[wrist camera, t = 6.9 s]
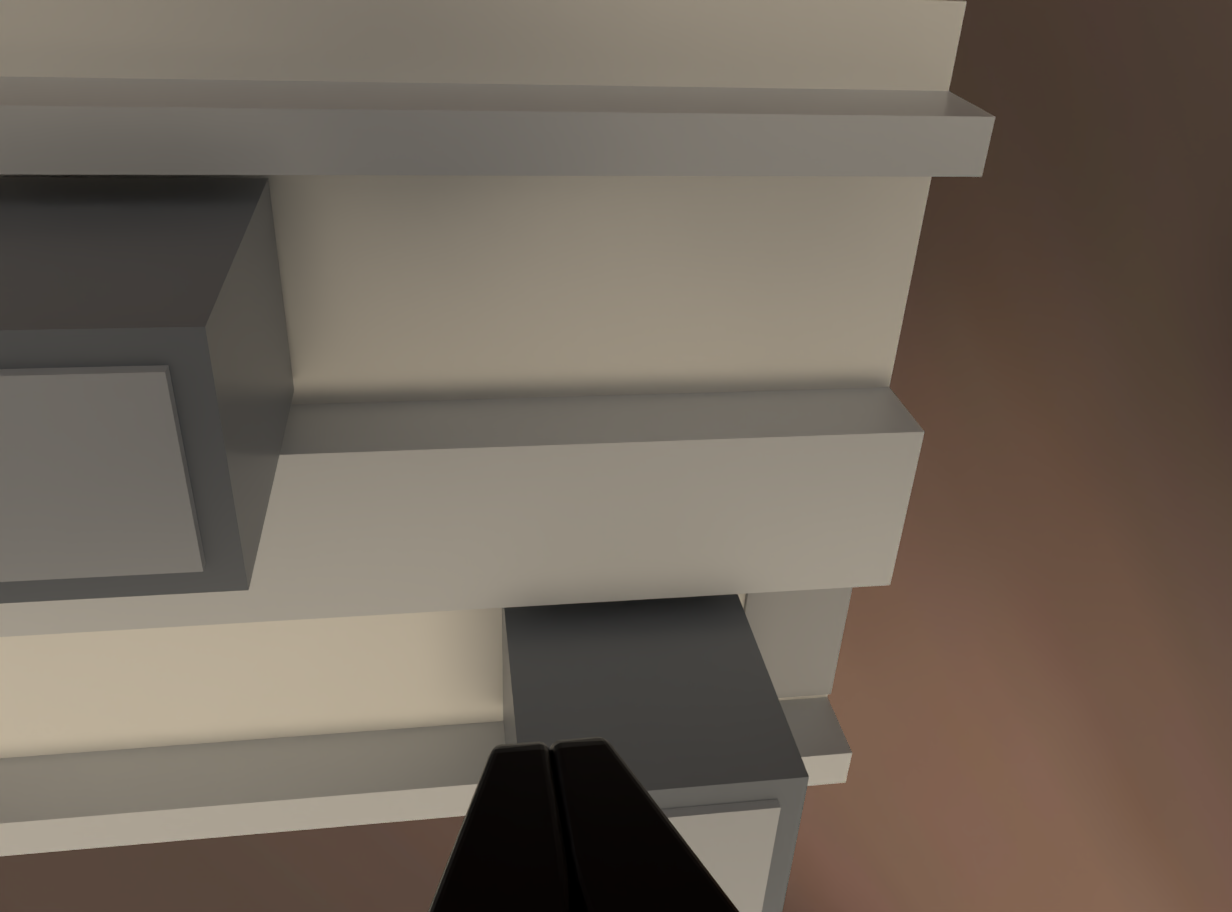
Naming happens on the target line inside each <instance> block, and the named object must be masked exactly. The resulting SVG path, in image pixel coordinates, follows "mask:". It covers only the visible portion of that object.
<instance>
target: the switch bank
mask: <svg viewBox="0 0 1232 912" xmlns="http://www.w3.org/2000/svg"><path fill="white" fill-rule="evenodd" d="M966 3H967V1H965V0H0V178H268V181H269V189H270V197H271V205H272V213H273V221H274V230H275V238H276V246H277V254H278V262H279V270H280V279H281V287H282V295H283V303H284V311H285V319H286V328H287V336H288V344H289V352H290V360H291V368H292V377H293V385H294V393H293V398H292V402H291V406H290V411H289V415H288V420H287V424H286V428H285V433H284V437H283V442H282V446H281V450H280V455H279V459H278V464H277V468H276V472H275V477H274V481H273V486H272V490H271V494H270V499H269V503H268V507H267V512H266V516H265V521H264V525H263V529H262V534H261V538H260V543H259V547H258V551H257V556H256V560H255V565H254V569H253V573H252V578H251V582H250V587H249V590H244V591H225V592H207V593H188V594H170V595H151V596H133V597H114V598H96V599H77V600H59V601H40V602H22V603H3V604H0V856H8V855H20V854H31V853H43V852H54V851H66V850H77V849H89V848H100V847H112V846H123V845H135V844H146V843H157V842H169V841H180V840H192V839H203V838H215V837H226V836H238V835H249V834H261V833H272V832H284V831H295V830H307V829H318V828H329V827H341V826H352V825H364V824H375V823H387V822H398V821H410V820H421V819H433V818H444V817H456V816H465V815H466V813H467V810H468V808H469V805H470V802H471V800H472V797H473V795H474V792H475V789H476V787H477V784H478V782H479V779H480V776H481V774H482V771H483V769H484V766H485V764H486V761H487V758H488V756H489V754H490V752H491V751H492V749H493V748H494V747H495V746H497V745H501V744H505V733H504V721H503V655H502V608H506V607H523V606H541V605H558V604H575V603H592V602H609V601H626V600H643V599H660V598H677V597H695V596H712V595H729V594H738V596H739V599H740V602H741V604H742V607H743V609H744V612H745V614H746V617H747V619H748V622H749V625H750V627H751V630H752V632H753V635H754V637H755V640H756V643H757V645H758V648H759V650H760V653H761V655H762V658H763V660H764V663H765V666H766V668H767V671H768V673H769V676H770V678H771V681H772V683H773V686H774V689H775V691H776V694H777V696H778V699H779V701H780V704H781V707H782V709H783V712H784V714H785V717H786V719H787V722H788V724H789V727H790V730H791V732H792V735H793V737H794V740H795V742H796V745H797V747H798V750H799V753H800V755H801V758H802V760H803V763H804V765H805V768H806V770H807V773H808V776H809V780H808V785H807V786H811V785H822V784H834V783H845V782H846V778H847V774H848V769H849V765H850V761H851V756H852V751H851V749H850V747H849V745H848V742H847V740H846V738H845V736H844V733H843V731H842V729H841V727H840V724H839V722H838V720H837V718H836V715H835V713H834V711H833V709H832V707H831V704H830V702H829V700H828V698H827V696H828V694H831V690H832V686H833V681H834V676H835V671H836V666H837V661H838V656H839V651H840V646H841V641H842V636H843V631H844V626H845V621H846V616H847V611H848V607H849V602H850V597H851V592H852V587H866V586H883V585H890V583H891V578H892V574H893V570H894V565H895V561H896V556H897V552H898V547H899V543H900V538H901V534H902V530H903V525H904V521H905V516H906V512H907V507H908V503H909V498H910V494H911V490H912V485H913V481H914V476H915V472H916V467H917V463H918V459H919V454H920V450H921V445H922V441H923V436H924V431H923V429H922V428H921V427H920V425H919V424H918V423H917V422H916V420H915V419H914V418H913V417H912V415H911V414H910V413H909V411H908V410H907V409H906V408H905V406H904V405H903V404H902V403H901V401H900V400H899V399H898V398H897V396H896V395H895V394H894V392H893V391H892V390H891V389H890V387H889V386H890V381H891V376H892V372H893V367H894V362H895V357H896V352H897V347H898V342H899V337H900V332H901V327H902V322H903V317H904V312H905V307H906V302H907V297H908V292H909V287H910V282H911V277H912V272H913V267H914V262H915V257H916V252H917V247H918V242H919V237H920V232H921V227H922V222H923V217H924V212H925V207H926V202H927V197H928V192H929V187H930V182H931V177H982V174H983V170H984V165H985V161H986V157H987V152H988V148H989V143H990V139H991V134H992V130H993V125H994V121H995V116H993V115H991V114H990V113H988V112H986V111H984V110H982V109H981V108H979V107H977V106H975V105H973V104H972V103H970V102H968V101H966V100H964V99H963V98H961V97H959V96H957V95H955V94H953V93H952V92H950V91H949V87H950V82H951V77H952V72H953V67H954V62H955V57H956V52H957V47H958V43H959V38H960V33H961V28H962V23H963V18H964V13H965V8H966Z"/></svg>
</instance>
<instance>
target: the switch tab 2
mask: <svg viewBox="0 0 1232 912" xmlns="http://www.w3.org/2000/svg"><path fill="white" fill-rule="evenodd" d="M502 655H503V721H504V733H505V744H511V743H524V742H537V741H540V742H544V743H545V744H547V746H548V747H549V750H550V747H551V745H552V744H553V743H554V742H556V741H557V740H562V739H575V738H587V737H602V738H604V739H606V740H607V741H609V742H610V744H611V745H612V746H613V747H614V748H615V750H616V751H617V752H618V754H619V755H620V756H621V757H622V759H623V760H624V761H625V763H626V764H627V765H628V767H629V768H630V769H631V771H632V772H633V773H634V774H635V776H636V777H637V778H638V780H639V781H640V782H641V784H642V785H643V786H644V788H645V789H646V790H647V791H648V793H649V794H650V795H651V797H652V798H653V799H654V801H655V802H656V803H657V805H658V806H659V807H660V808H661V810H662V811H663V812H664V814H665V815H666V816H667V818H668V819H669V820H670V822H671V823H672V824H673V825H674V827H675V828H676V829H677V831H678V832H679V833H680V835H681V836H682V837H683V839H684V840H685V841H686V842H687V844H688V845H689V846H690V848H691V849H692V850H693V852H694V853H695V854H696V856H697V857H698V858H699V859H700V861H701V862H702V863H703V865H704V866H705V867H706V869H707V870H708V871H709V873H710V874H711V875H712V876H713V878H714V879H715V880H716V882H717V883H718V884H719V886H720V887H721V888H722V890H723V891H724V892H725V893H726V895H727V896H728V897H729V899H730V900H731V901H732V903H733V904H734V905H735V907H736V908H737V909H738V910H739V912H782V910H783V905H784V900H785V895H786V890H787V885H788V880H789V875H790V870H791V865H792V860H793V855H794V850H795V845H796V840H797V835H798V830H799V825H800V820H801V815H802V810H803V805H804V800H805V795H806V790H807V785H808V780H809V776H808V773H807V770H806V768H805V765H804V763H803V760H802V758H801V755H800V753H799V750H798V747H797V745H796V742H795V740H794V737H793V735H792V732H791V730H790V727H789V724H788V722H787V719H786V717H785V714H784V712H783V709H782V707H781V704H780V701H779V699H778V696H777V694H776V691H775V689H774V686H773V683H772V681H771V678H770V676H769V673H768V671H767V668H766V666H765V663H764V660H763V658H762V655H761V653H760V650H759V648H758V645H757V643H756V640H755V637H754V635H753V632H752V630H751V627H750V625H749V622H748V619H747V617H746V614H745V612H744V609H743V607H742V604H741V602H740V599H739V596H738V594H729V595H712V596H695V597H677V598H660V599H643V600H626V601H609V602H592V603H575V604H558V605H541V606H523V607H506V608H502Z"/></svg>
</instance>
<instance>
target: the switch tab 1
mask: <svg viewBox="0 0 1232 912" xmlns="http://www.w3.org/2000/svg"><path fill="white" fill-rule="evenodd" d="M293 393H294V385H293V377H292V368H291V360H290V352H289V344H288V336H287V328H286V319H285V311H284V303H283V295H282V287H281V279H280V270H279V262H278V254H277V246H276V238H275V230H274V221H273V213H272V205H271V197H270V189H269V181H268V178H0V604H3V603H22V602H40V601H59V600H77V599H96V598H114V597H133V596H151V595H170V594H188V593H207V592H225V591H244V590H249V587H250V582H251V578H252V573H253V569H254V565H255V560H256V556H257V551H258V547H259V543H260V538H261V534H262V529H263V525H264V521H265V516H266V512H267V507H268V503H269V499H270V494H271V490H272V486H273V481H274V477H275V472H276V468H277V464H278V459H279V455H280V450H281V446H282V442H283V437H284V433H285V428H286V424H287V420H288V415H289V411H290V406H291V402H292V398H293Z"/></svg>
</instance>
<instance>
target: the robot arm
mask: <svg viewBox="0 0 1232 912" xmlns="http://www.w3.org/2000/svg"><path fill="white" fill-rule="evenodd" d="M428 912H739V910H738V909H737V908H736V907H735V905H734V904H733V903H732V901H731V900H730V899H729V897H728V896H727V895H726V893H725V892H724V891H723V890H722V888H721V887H720V886H719V884H718V883H717V882H716V880H715V879H714V878H713V876H712V875H711V874H710V873H709V871H708V870H707V869H706V867H705V866H704V865H703V863H702V862H701V861H700V859H699V858H698V857H697V856H696V854H695V853H694V852H693V850H692V849H691V848H690V846H689V845H688V844H687V842H686V841H685V840H684V839H683V837H682V836H681V835H680V833H679V832H678V831H677V829H676V828H675V827H674V825H673V824H672V823H671V822H670V820H669V819H668V818H667V816H666V815H665V814H664V812H663V811H662V810H661V808H660V807H659V806H658V805H657V803H656V802H655V801H654V799H653V798H652V797H651V795H650V794H649V793H648V791H647V790H646V789H645V788H644V786H643V785H642V784H641V782H640V781H639V780H638V778H637V777H636V776H635V774H634V773H633V772H632V771H631V769H630V768H629V767H628V765H627V764H626V763H625V761H624V760H623V759H622V757H621V756H620V755H619V754H618V752H617V751H616V750H615V748H614V747H613V746H612V745H611V744H610V742H609V741H607V740H606V739H604V738H602V737H587V738H575V739H562V740H557V741H556V742H554V743H553V744H552V745H551V747H550V750H549V747H548V746H547V744H545V743H544V742H540V741H537V742H524V743H511V744H501V745H497V746H495V747H494V748H493V749H492V751H491V752H490V754H489V756H488V758H487V761H486V764H485V766H484V769H483V771H482V774H481V776H480V779H479V782H478V784H477V787H476V789H475V792H474V795H473V797H472V800H471V802H470V805H469V808H468V810H467V813H466V815H465V818H464V820H463V823H462V826H461V828H460V831H459V833H458V836H457V839H456V841H455V844H454V846H453V849H452V852H451V854H450V857H449V859H448V862H447V864H446V867H445V870H444V872H443V875H442V877H441V880H440V883H439V885H438V888H437V890H436V893H435V896H434V898H433V901H432V903H431V906H430V908H429V911H428Z"/></svg>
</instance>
